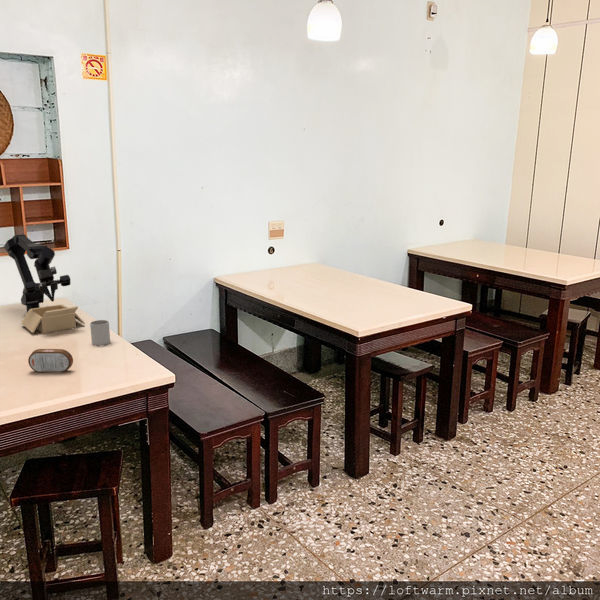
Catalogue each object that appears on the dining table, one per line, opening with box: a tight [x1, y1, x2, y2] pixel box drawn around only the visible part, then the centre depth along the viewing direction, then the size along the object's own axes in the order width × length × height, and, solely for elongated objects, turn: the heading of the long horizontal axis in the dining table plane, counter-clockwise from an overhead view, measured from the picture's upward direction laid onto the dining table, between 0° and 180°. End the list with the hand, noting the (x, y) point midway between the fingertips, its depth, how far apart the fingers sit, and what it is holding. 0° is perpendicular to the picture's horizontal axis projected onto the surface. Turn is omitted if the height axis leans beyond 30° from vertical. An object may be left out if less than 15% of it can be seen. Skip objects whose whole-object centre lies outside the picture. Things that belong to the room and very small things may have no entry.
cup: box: [89, 319, 111, 347], centre depth 245 cm, size 7×10×9 cm
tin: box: [27, 348, 74, 374], centre depth 212 cm, size 15×3×8 cm, turn 92°
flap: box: [42, 306, 79, 318], centre depth 256 cm, size 7×13×1 cm
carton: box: [21, 304, 86, 335], centre depth 268 cm, size 22×22×7 cm
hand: (52, 301), depth 261 cm, fingers closed
